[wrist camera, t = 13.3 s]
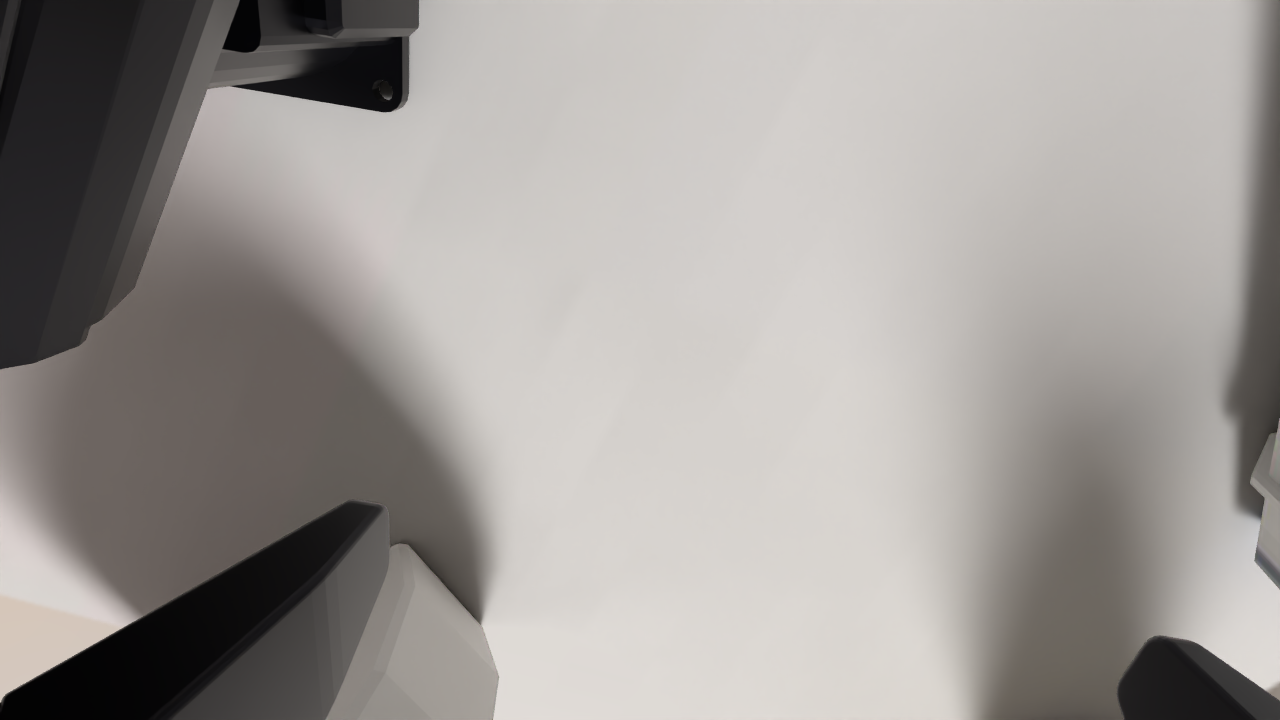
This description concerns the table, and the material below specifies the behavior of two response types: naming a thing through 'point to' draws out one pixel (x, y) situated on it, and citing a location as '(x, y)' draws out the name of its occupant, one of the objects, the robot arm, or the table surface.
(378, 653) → the soap bottle
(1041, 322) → the table surface
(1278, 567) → the white long cylinder
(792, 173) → the table surface
